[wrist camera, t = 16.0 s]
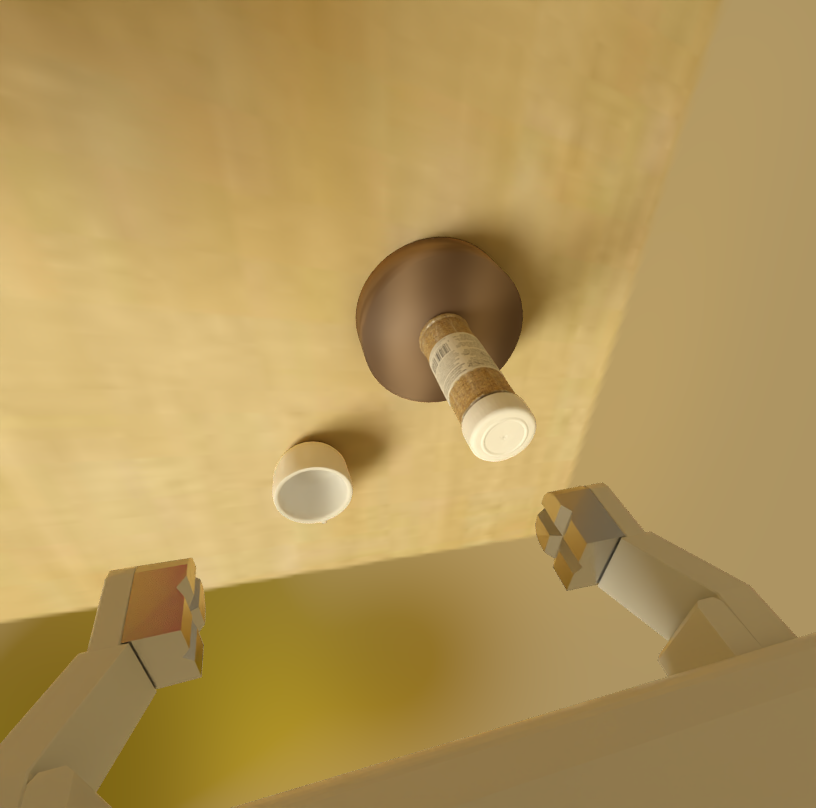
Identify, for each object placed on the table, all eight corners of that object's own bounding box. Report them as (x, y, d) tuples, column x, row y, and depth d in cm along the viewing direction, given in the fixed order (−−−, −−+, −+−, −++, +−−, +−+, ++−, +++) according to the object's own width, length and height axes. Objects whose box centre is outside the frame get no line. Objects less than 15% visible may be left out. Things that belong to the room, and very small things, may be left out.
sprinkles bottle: (443, 366, 43) (500, 473, 33) (406, 340, 41) (456, 447, 30) (479, 329, 42) (552, 428, 32) (444, 300, 39) (509, 397, 29)
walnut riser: (357, 384, 47) (363, 409, 44) (354, 239, 39) (362, 258, 36) (492, 371, 50) (507, 394, 47) (517, 234, 42) (537, 251, 39)
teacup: (262, 440, 49) (262, 478, 44) (338, 422, 50) (345, 458, 45) (287, 504, 55) (290, 543, 51) (354, 488, 56) (362, 525, 52)
